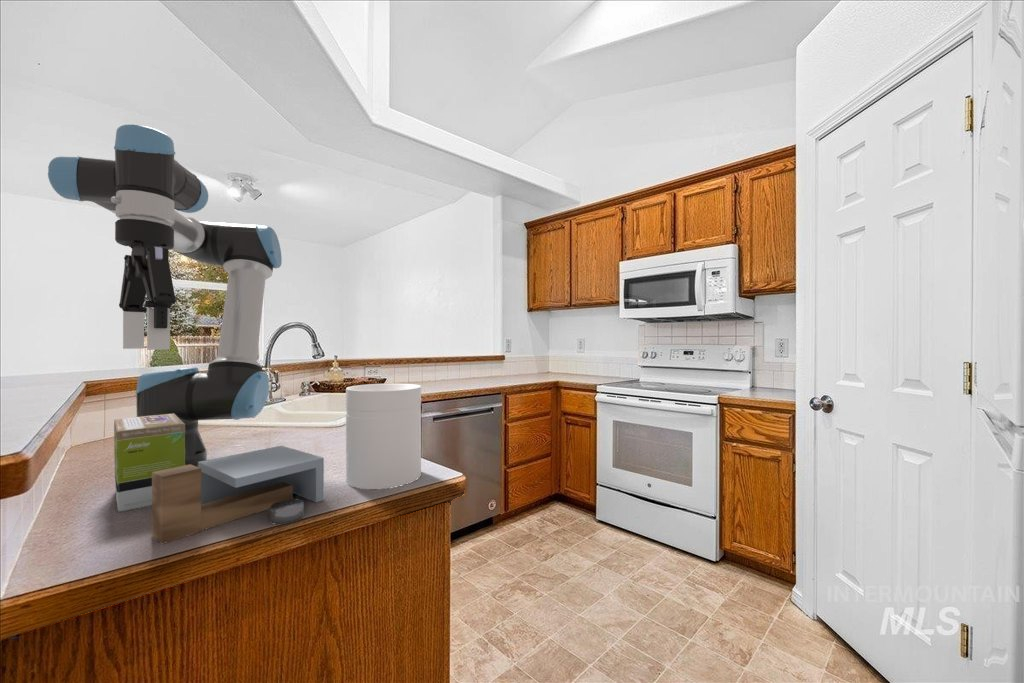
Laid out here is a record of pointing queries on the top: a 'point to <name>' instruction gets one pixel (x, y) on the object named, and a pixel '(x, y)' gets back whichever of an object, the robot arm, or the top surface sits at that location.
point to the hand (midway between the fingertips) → (145, 349)
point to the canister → (383, 435)
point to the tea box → (145, 455)
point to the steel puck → (287, 511)
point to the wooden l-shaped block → (186, 515)
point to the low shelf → (262, 473)
